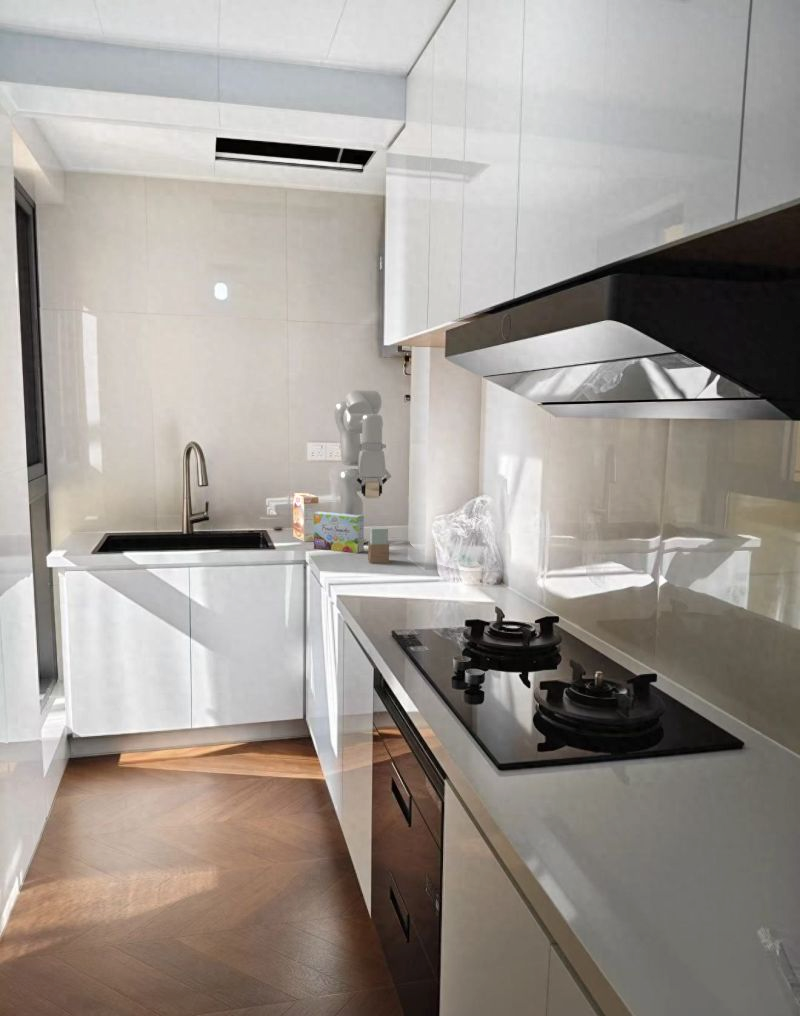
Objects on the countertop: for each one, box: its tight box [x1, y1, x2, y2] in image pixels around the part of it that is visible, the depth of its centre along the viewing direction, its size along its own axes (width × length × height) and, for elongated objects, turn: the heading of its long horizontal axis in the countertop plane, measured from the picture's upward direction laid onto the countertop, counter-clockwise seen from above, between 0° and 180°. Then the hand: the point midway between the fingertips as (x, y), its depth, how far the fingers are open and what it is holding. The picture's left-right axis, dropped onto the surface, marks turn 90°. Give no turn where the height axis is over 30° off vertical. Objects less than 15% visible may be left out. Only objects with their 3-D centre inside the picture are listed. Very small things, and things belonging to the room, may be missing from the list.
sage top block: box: [369, 526, 389, 545], centre depth 315 cm, size 6×6×6 cm
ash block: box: [363, 481, 380, 499], centre depth 315 cm, size 5×5×6 cm
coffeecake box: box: [292, 492, 319, 543], centre depth 365 cm, size 15×7×20 cm, turn 25°
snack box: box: [313, 510, 365, 554], centre depth 339 cm, size 21×6×15 cm, turn 62°
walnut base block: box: [367, 541, 390, 564], centre depth 316 cm, size 7×7×7 cm
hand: (371, 495), depth 315 cm, fingers closed on ash block, 4 cm apart
